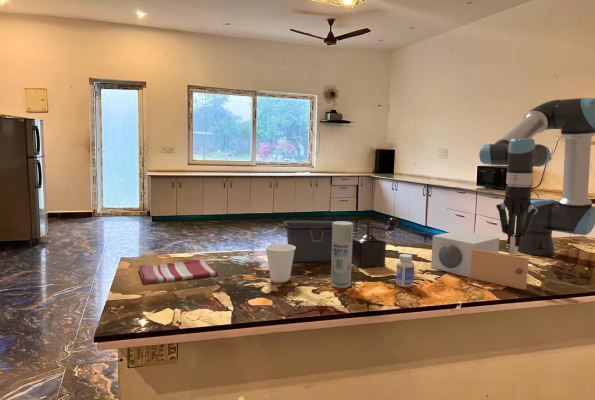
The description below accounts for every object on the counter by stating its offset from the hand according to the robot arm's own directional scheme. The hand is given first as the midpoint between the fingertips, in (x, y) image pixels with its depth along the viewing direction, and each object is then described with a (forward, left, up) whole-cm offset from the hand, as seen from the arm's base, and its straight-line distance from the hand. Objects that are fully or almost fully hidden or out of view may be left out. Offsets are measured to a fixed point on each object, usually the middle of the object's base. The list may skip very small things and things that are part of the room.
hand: (513, 255), depth 143 cm
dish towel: (+89, -71, -10) cm, 114 cm away
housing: (+1, -17, -9) cm, 19 cm away
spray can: (+52, -30, -9) cm, 60 cm away
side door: (+10, 0, -8) cm, 13 cm away
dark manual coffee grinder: (+24, -41, -9) cm, 48 cm away
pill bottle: (+35, -18, -9) cm, 40 cm away
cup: (+65, -45, -9) cm, 79 cm away
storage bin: (+40, -58, -9) cm, 71 cm away
